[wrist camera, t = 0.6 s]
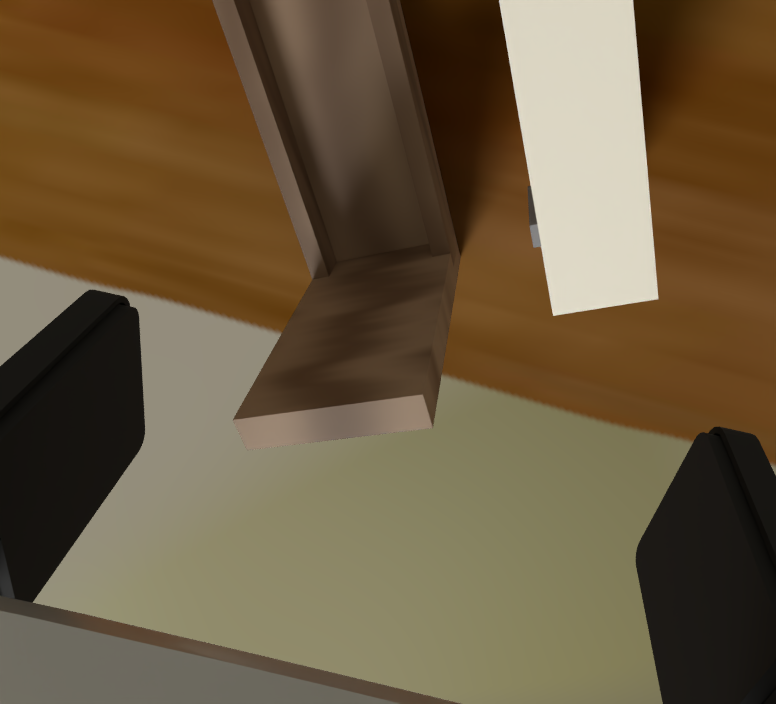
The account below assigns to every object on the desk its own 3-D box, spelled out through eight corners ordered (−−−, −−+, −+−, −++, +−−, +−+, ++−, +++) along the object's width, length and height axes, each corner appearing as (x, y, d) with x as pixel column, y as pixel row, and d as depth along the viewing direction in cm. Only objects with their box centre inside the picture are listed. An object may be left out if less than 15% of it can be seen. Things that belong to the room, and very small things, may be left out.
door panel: (585, -109, 30) (622, -126, 20) (618, 195, 36) (658, 299, 26) (485, -77, 31) (472, -77, 21) (535, 212, 37) (543, 317, 27)
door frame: (366, -142, 30) (247, -194, 17) (460, 257, 39) (432, 427, 26) (208, -84, 32) (-10, -90, 19) (333, 281, 42) (247, 450, 28)
